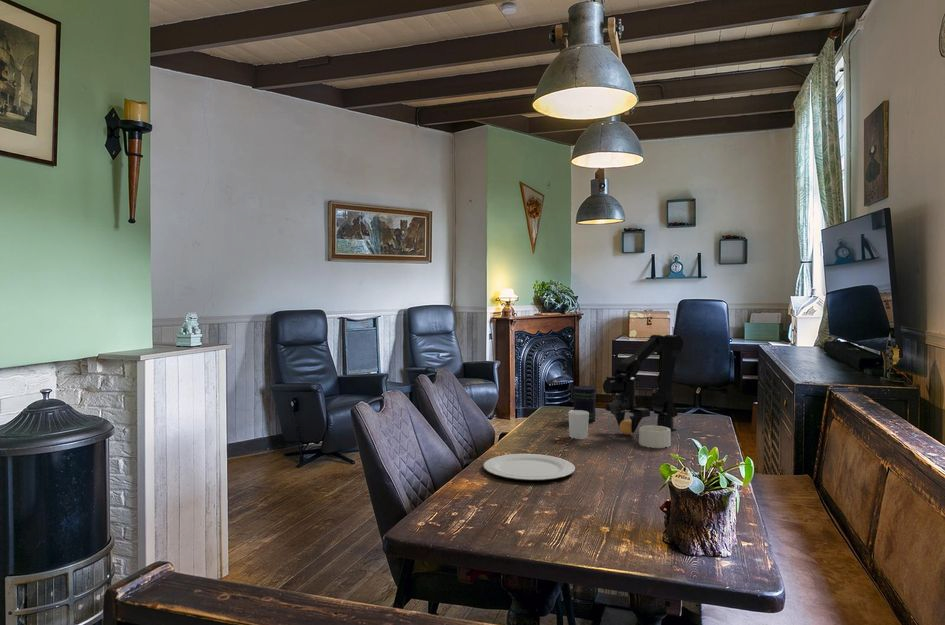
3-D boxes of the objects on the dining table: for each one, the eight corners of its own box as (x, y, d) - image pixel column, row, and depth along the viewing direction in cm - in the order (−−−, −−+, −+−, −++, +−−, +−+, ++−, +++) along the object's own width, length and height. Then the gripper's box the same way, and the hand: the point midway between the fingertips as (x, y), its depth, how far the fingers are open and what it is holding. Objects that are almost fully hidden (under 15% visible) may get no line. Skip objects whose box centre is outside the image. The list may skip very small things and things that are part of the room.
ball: (626, 432, 255) (626, 417, 255) (637, 434, 250) (638, 420, 250) (616, 433, 251) (616, 419, 251) (627, 436, 246) (627, 421, 246)
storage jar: (597, 423, 271) (597, 389, 270) (574, 423, 271) (575, 389, 270) (593, 419, 281) (593, 385, 280) (571, 418, 281) (571, 385, 280)
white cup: (587, 435, 249) (588, 410, 248) (589, 440, 241) (589, 414, 240) (567, 434, 249) (568, 409, 249) (568, 439, 241) (569, 413, 241)
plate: (582, 463, 208) (582, 458, 208) (565, 489, 181) (565, 483, 181) (498, 455, 218) (498, 450, 218) (470, 479, 190) (470, 473, 190)
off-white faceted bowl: (652, 439, 242) (652, 424, 242) (676, 445, 233) (676, 429, 233) (633, 443, 236) (633, 427, 236) (656, 449, 227) (657, 433, 226)
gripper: (596, 391, 253) (595, 429, 254) (632, 397, 238) (631, 438, 238) (615, 388, 259) (614, 426, 260) (651, 395, 244) (650, 434, 245)
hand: (627, 431), depth 251 cm, fingers closed on ball, 6 cm apart
